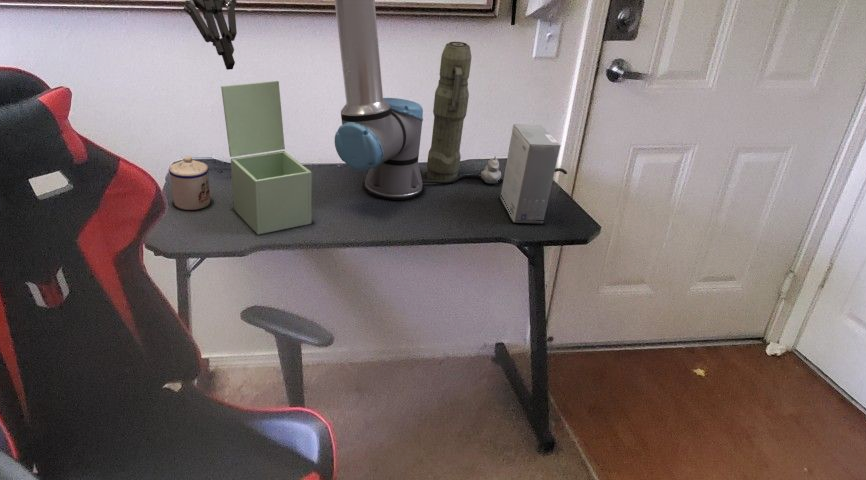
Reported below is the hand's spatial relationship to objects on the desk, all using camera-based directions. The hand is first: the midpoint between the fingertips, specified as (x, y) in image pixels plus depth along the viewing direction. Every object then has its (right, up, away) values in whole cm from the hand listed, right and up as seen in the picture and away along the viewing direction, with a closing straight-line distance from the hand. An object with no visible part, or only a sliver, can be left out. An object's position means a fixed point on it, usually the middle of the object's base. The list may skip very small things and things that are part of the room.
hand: (230, 66), depth 157 cm
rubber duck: (+66, -22, +27) cm, 75 cm away
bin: (+10, -35, +2) cm, 37 cm away
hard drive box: (+71, -32, +12) cm, 79 cm away
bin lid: (+6, -14, -4) cm, 16 cm away
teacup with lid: (-11, -31, +7) cm, 33 cm away
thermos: (+53, -20, +28) cm, 63 cm away
